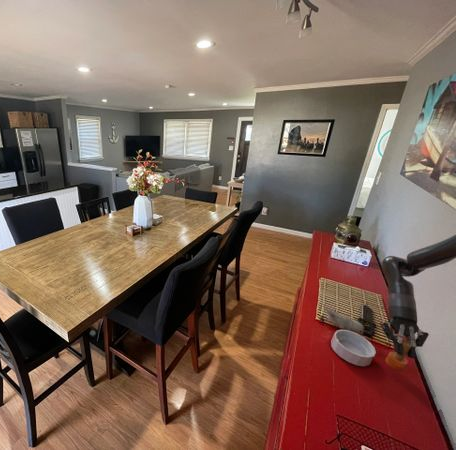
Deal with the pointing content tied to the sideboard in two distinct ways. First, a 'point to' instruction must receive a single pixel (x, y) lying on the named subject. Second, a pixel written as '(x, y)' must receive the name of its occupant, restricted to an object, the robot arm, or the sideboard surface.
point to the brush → (399, 357)
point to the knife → (363, 319)
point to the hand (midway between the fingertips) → (405, 355)
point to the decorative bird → (343, 321)
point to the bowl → (353, 347)
